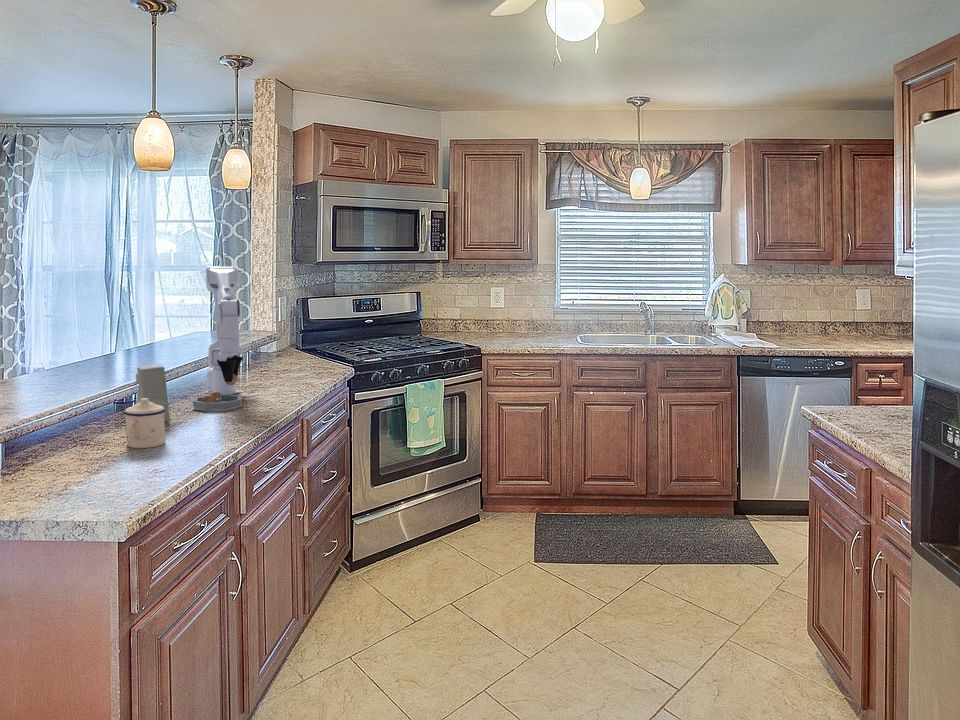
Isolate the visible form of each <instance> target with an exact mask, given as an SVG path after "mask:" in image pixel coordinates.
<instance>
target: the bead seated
mask: <svg viewBox="0 0 960 720" xmlns="http://www.w3.org/2000/svg"><path fill="white" fill-rule="evenodd" d="M203 396H204V397H203V398H202V402H206V403H215V397H214V396H213V395H211V394H210V393H206V394H205V395H203Z"/></svg>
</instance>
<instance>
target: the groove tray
mask: <svg viewBox="0 0 960 720" xmlns="http://www.w3.org/2000/svg"><path fill="white" fill-rule="evenodd" d="M221 395H222V399H221V398H215V403H206V402H202V398H203V397H204V396H205V395H202V396H197V397H194V399H193V400H192V407H193V409H194V408H195V409H194V410H196V411H199V410H201V411H200V412H226V411H225V410H227V411H232V410H231V409H233V410H237V409H239V407H240V408H241V407H242V404H243V403H242V402H243V399H242V397H243V396H241V395H235V394H221ZM236 408H237V409H236Z"/></svg>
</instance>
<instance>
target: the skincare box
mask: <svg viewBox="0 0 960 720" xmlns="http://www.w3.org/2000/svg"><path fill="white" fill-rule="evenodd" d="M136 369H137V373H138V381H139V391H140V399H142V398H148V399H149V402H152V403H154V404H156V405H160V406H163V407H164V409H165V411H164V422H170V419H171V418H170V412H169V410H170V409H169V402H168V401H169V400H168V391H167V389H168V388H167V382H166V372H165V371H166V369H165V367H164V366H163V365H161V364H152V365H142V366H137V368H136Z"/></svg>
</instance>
